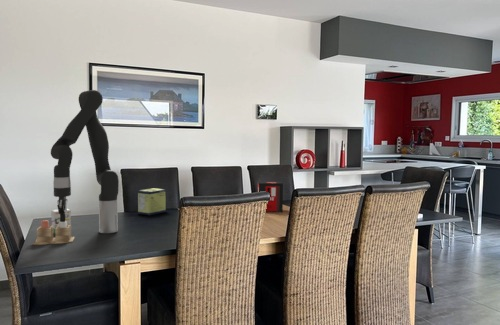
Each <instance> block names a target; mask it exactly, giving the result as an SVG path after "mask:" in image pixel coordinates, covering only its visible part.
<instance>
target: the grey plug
mask: <svg viewBox="0 0 500 325" xmlns="http://www.w3.org/2000/svg"><path fill="white" fill-rule="evenodd" d="M59 224H60V228H67V221H65V222H59Z"/></svg>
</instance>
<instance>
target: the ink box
mask: <svg viewBox="0 0 500 325" xmlns="http://www.w3.org/2000/svg"><path fill="white" fill-rule="evenodd" d="M65 214H66V221H67V225H71V226H72V220H71V218H72V217H71V216H72V215H71V214H72V212H71V209H69V208H67V211H66V213H65ZM59 222H60V214H59V211H58V209H52V210H51V226H53V234H55V228H56V227H57V226H60V224H59Z"/></svg>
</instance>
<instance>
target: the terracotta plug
mask: <svg viewBox="0 0 500 325" xmlns="http://www.w3.org/2000/svg"><path fill="white" fill-rule="evenodd" d="M49 226H50V222H49V219H48V220H47V219H44V220H41V221H40V227H41V229H48V228H49Z"/></svg>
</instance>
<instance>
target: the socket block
mask: <svg viewBox="0 0 500 325" xmlns="http://www.w3.org/2000/svg"><path fill="white" fill-rule="evenodd" d="M54 235H55V237H54ZM75 239H76V237H75V236H72V224H71V225H67V228H60V226H57V227H56V228H55V233H53V226H52V225H49V228H48V229H41V226H38V228H37V229H36V240H35V241H34V242H33V243H32V246H39V245H40V246H42V245H54V244H55V245H57V244H73V242H74V240H75Z"/></svg>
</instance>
